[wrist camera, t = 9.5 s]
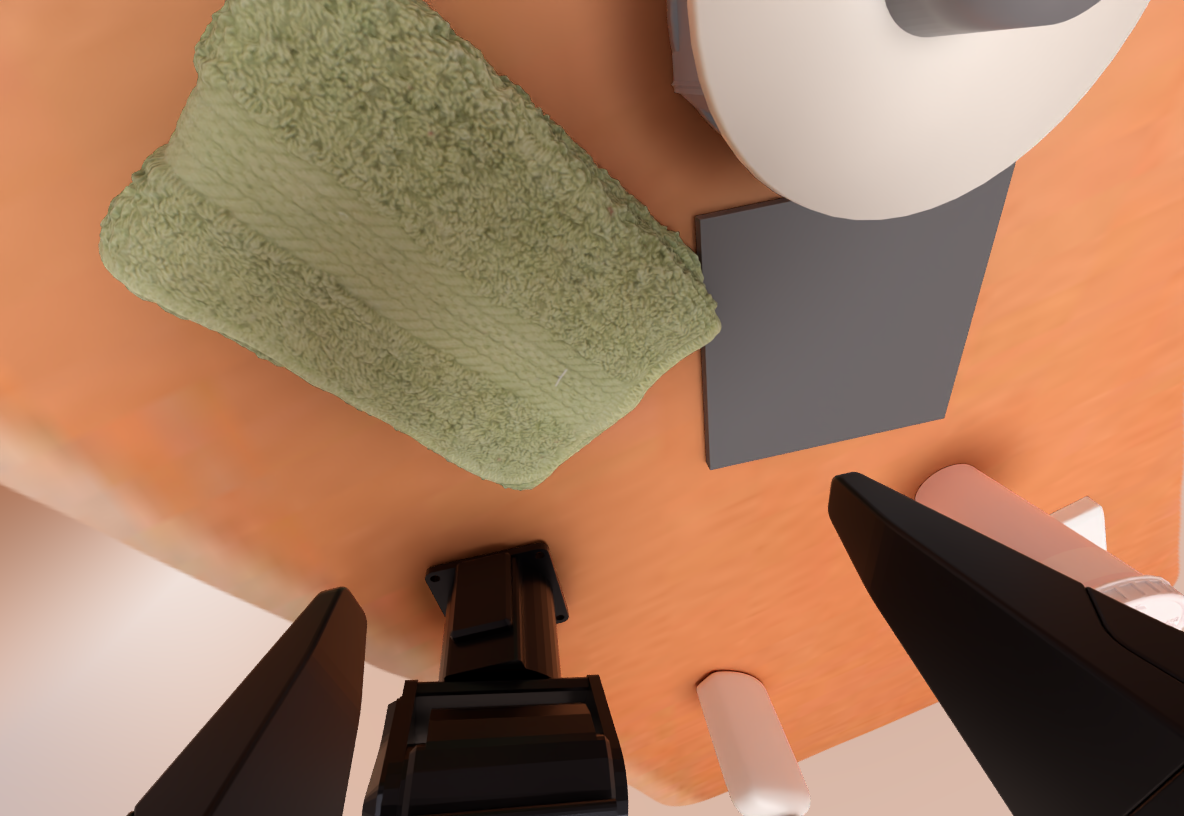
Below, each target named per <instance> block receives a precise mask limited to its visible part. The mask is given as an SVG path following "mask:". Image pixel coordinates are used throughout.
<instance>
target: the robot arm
mask: <svg viewBox="0 0 1184 816" xmlns="http://www.w3.org/2000/svg"><path fill="white" fill-rule="evenodd" d="M828 513H829V517H830V519H831V522H832V524H833V525H834V527H835V529H836V531H837V533H838V535H839V537H840V539H841V541H842V543H843V545H844V547H845V549H846V551H847V553H848V555H849V557H850V559H851V561H852V563H853V565H854V567H855V568H856V570H857V572H858V574H859V576H860V578H861V580H862V582H863V584H864V586H865V588H866V589H867V591H868V593H869V595H870V596H871V598H872V600H873V601H874V603H875V604H876V606H877V608H878V609H879V611H880V612H881V614H882V615H883V617H884V618H885V620H886V621H887V623H888V624H889V626H890V628H891V629H892V631H893V632H894V634H895V635H896V637H897V638H898V640H899V641H900V643H901V644H902V646H903V647H904V649H905V650H906V652H907V654H908V655H909V657H910V658H911V660H912V661H913V663H914V664H915V666H916V667H917V669H918V670H919V672H920V673H921V675H922V677H923V678H924V680H925V681H926V683H927V684H928V686H929V687H930V689H931V690H932V692H933V693H934V695H935V696H936V698H937V699H938V701H939V703H940V704H941V706H942V707H943V708H944V710H945V712H946V713H947V715H948V716H949V718H950V719H951V721H952V722H953V724H954V725H955V727H956V728H957V730H958V732H959V733H960V735H961V736H962V738H963V739H964V741H965V742H966V744H967V745H968V747H969V748H970V750H971V751H972V753H973V755H974V756H975V757H976V759H977V761H978V762H979V764H980V765H981V767H982V768H983V770H984V771H985V773H986V774H987V776H988V778H989V779H990V781H991V782H992V784H993V785H994V787H995V788H996V790H997V791H998V793H999V794H1000V796H1001V797H1002V799H1003V800H1004V802H1005V804H1006V805H1007V806H1008V808H1009V810H1010V811H1011V812H1012V814H1013V816H1184V632H1183V631H1181V630H1179V629H1176V628H1174V627H1172V626H1170V625H1167V624H1165V623H1163V622H1161V621H1159V620H1157V619H1155V618H1153V617H1151V616H1149V615H1147V614H1144V613H1142V612H1140V611H1138V610H1136V609H1134V608H1132V607H1130V606H1128V605H1126V604H1123V603H1121V602H1119V601H1117V600H1115V599H1113V598H1111V597H1109V596H1107V595H1105V594H1103V593H1101V592H1099V591H1097V590H1095V589H1093V588H1091V587H1084V585H1083V584H1082V583H1081V582H1079V581H1077V580H1075V579H1072V578H1070V577H1068V576H1066V575H1064V574H1062V573H1060V572H1058V571H1056V570H1054V569H1052V568H1050V567H1048V566H1046V565H1044V564H1042V563H1040V562H1038V561H1036V560H1034V559H1032V558H1030V557H1028V556H1026V555H1024V554H1022V553H1020V552H1018V551H1016V550H1014V549H1012V548H1010V547H1008V546H1006V545H1004V544H1002V543H1000V542H998V541H996V540H994V539H992V538H990V537H988V536H986V535H984V534H982V533H980V532H978V531H976V530H974V529H972V528H970V527H968V526H965V525H963V524H961V523H959V522H957V521H955V520H953V519H951V518H949V517H947V516H945V515H943V514H941V513H939V512H937V511H935V510H933V509H931V508H929V507H927V506H925V505H923V504H921V503H919V502H917V501H915V500H913V499H911V498H909V497H907V496H905V495H903V494H901V493H899V492H897V491H895V490H893V489H891V488H889V487H887V486H885V485H883V484H881V483H879V482H877V481H875V480H873V479H871V478H869V477H867V476H865V475H863V474H860V473H857V472H850V473H846V474H841V475H837V476H835V477H834V478H833V479H832V482H831V488H830V495H829V503H828ZM537 552H541V553H537ZM425 580H426V583H427V584H428V586H429V588H430V590H431V592H432V594H433V595H434V597H435V599H436V601H437V603H438V605H439V607H440V608H441V610H442V612H443V614H444V616H445V626H444V635H443V645H442V654H441V663H440V672H439V681H438V682H418V680H405V685H404V689H403V694H402V696H401V697H400V698H399V699H397V700H396V701H394V702H393V703H391V704H389V705H388V709H387V714H386V720H385V725H384V730H383V735H382V740H381V744H380V749H379V752H378V756H377V759H376V762H375V766H374V769H373V772H372V775H371V779H370V782H369V785H368V789H367V792H366V796H365V799H364V804H363V810H362V816H628V789H627V778H626V770H625V764H624V759H623V755H622V751H621V747H620V743H619V740H618V737H617V733H616V730H615V727H614V724H613V720H612V717H611V714H610V710H609V707H608V704H607V700H606V697H605V694H604V690H603V687H602V684H601V680H600V677H599V675H587V677H573V678H561V670H560V659H559V649H558V638H557V628H556V624H558V623H562V622H565V621H566V620H567V619H568V618H569V615H568V609H567V605H566V602H565V599H564V596H563V592H562V589H561V586H560V583H559V580H558V576H557V573H556V570H555V567H554V563H553V560H552V557H551V554H550V551H549V547H548V546H547V545H546V544H544V543H535V544H531V545H526V546H522V547H517V548H513V549H508V550H504V551H499V552H495V553H491V554H486V555H482V556H477V557H473V558H468V559H464V560H459V561H455V562H450V563H446V564H441V565H437V566H433V567H430V568H429V569H427V571H426V576H425ZM366 632H367V620H366V616H365V613H364V611H363V610H362V608H361V607H360V605H359V604H358V602H357V601H356V599H355V598H354V596H353V595H352V594H351V592H350V591H349V590H348V589H347V588H346V587H337V588H333V589H328V590H324V591H322V592H320V593H319V594H318V595H317V596H316V597H315V598H314V599H313V600H312V602H311V603H310V604H309V605H308V606H307V607H306V609H305V610H304V611H303V612H302V613H301V614H300V615H299V617H298V618H297V619H296V620H295V621H294V622H293V624H292V625H291V626H290V627H289V628H288V630H287V631H286V632H285V633H284V634H283V635H282V637H280V639H279V640H278V641H277V642H276V643H275V644H274V646H273V647H272V648H271V649H270V650H269V651H268V653H267V654H266V655H265V656H264V657H263V658H262V659H261V661H260V662H259V663H258V664H257V665H256V666H255V668H254V669H253V670H252V671H251V672H250V673H249V675H248V676H247V677H246V678H245V679H244V680H243V682H242V683H241V684H240V685H239V686H238V687H237V689H236V690H235V691H234V692H233V693H232V694H231V696H230V697H229V698H228V699H227V700H226V701H225V702H224V704H223V705H222V706H221V707H220V708H219V709H218V711H217V712H216V713H215V714H214V715H213V716H212V717H211V719H210V720H209V721H208V722H207V723H206V725H205V726H204V727H203V728H202V729H201V730H200V731H199V732H198V734H197V735H196V736H195V737H194V738H193V739H192V741H191V742H190V743H189V744H188V745H187V747H186V748H185V749H184V750H183V751H182V752H181V754H180V755H179V756H178V757H177V758H176V759H175V760H174V761H173V763H172V764H171V765H170V766H169V767H168V768H167V770H166V771H165V772H164V773H163V774H162V775H161V777H160V778H159V779H158V780H157V781H156V782H155V784H154V785H153V786H152V787H151V788H150V789H149V790H148V792H147V793H146V794H145V795H144V796H143V797H142V799H141V800H140V801H139V802H138V803H137V805H136V806H135V809H134V811H131V812H130V813H128V815H127V816H342V814H343V808H344V803H345V797H346V791H347V786H348V779H349V775H350V769H351V763H352V758H353V752H354V747H355V740H356V735H357V730H358V724H359V717H360V710H361V700H362V687H363V674H364V660H365V646H366Z"/></svg>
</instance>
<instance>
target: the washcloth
mask: <svg viewBox="0 0 1184 816" xmlns="http://www.w3.org/2000/svg"><path fill="white" fill-rule="evenodd" d="M212 19H213V20H212V21H211V23H210V24H208V25H207V27H206V30H205V32H204V33H203V34H202V36H201V39H200V41H199V42H198V43H197V44H196V46H195V55H194V60H193V62H194V66H195V69H196V71H197V73H198V80H197V86H196V87H195V88H194V89H193V90H192V92H191V94H190V96H189V97H188V99H187V103H186V106H185V107H184V109H183V110H182V113H181V115H180V118H179V119H178V121H177V126H176V129H175V131H174V132H173V134H172V135H171V138H170V141H169V143H168V144H165V145H163V146H161V147H159V148H157V149H156V150H155V151H154V152H153V154H151V155H150V156H148V157H147V159H146V160H145V161H144V163H143V165H142V168H141V169H140V170H139V171H137V172H135V173H133V174H132V176H131V178H132V181H133V182H132V183H130V184H129V186H126V187H125V189H124V190H123V191H122V192H121V193H120V194H119V195H117V196H116V197H115V198H113V200H112V201H111V203H110V206H109V209H108V214H107V215H106V217H105V218H104V219H103V220H102V222H101V224H100V226H101V227H102V228H101V233H100V238H101V239H100V242H99V254H100V256H101V260H102V262H103V264H104V266H105V268H106V269H107V270H108V271H109V272H110V273H111V274H112V275H113V276H114V277H115V278H116V279H117V280H119V281H120V282H122V283H123V284H124V285H125V286H126V288H127V289H128V290H129V291H131V292H132V293H133V294H135V295H136V296H137V297H139V298H141V299H142V300H145V301H150V302H154V303H157V304H158V305H159V306H160V307H161V308H162V309H163V310H164V311H166V312H168V313H171V314H173V315H175V316H176V317H178V318H180V319H184V320H191V321H193V322H196V323H198V324H200V325H202V326H204V327H206V328H208V329H210V330H213V331H217V332H218V333H220V334H221V335H223V336H224V337H226V338H229V339H231V340H233V341H235V342H237V343H238V344H239V345H241V346H242V347H245V348H247V349H248V350H250V351H252V352H254V353H256V355H257V356H258V358H261V359H265V360H268V361H270V362H271V363H273V364H274V365H276V366H280V367H285V368H287V369H288V370H290V371H291V372H293V373H294V374H296V375H298V376H299V377H301V378H302V379H304V380H305V381H307V382H308V383H309V384H311V385H313V386H315V387H318V388H320V389H322V390H324V391H327V392H329V393H332V394H334V395H336V396H337V397H339V398H340V399H342V400H344V401H345V402H346V403H347V404H349V405H352V406H354V407H355V408H356V409H357V410H360V411H364V412H366V413H367V414H368V415H370V416H374V417H376V418H378V419H380V420H382V421H384V422H386V423H388V424H390V425H391V426H393V427H394V429H395V430H397V431H400V432H402V433H405V434H407V435H409V436H411V437H412V438H413V439H415V440H417V441H418V442H419V443H420V444H422V445H424V446H425V447H427V448H428V449H431V450H433V452H435V453H437V454H439V455H441V456H443V457H444V458H445V459H446V460H447V461H448V462H452V463H454V464H456V465H457V466H458V467H460V468H463V469H465V470H466V471H469V472H471V473H472V474H474V475H477V476H479V477H481V478H482V480H484V479H486V480H490V481H492V482H495V483H497V484H500V485H502V486H503V487H504V488H505V489H506V488H511V489H513V490H520V491H521V490H526V489H533V488H534V487H536V486H537V485H539V484H540V483H542V482H543V481H544V480H545V479H546V478H547V477H549V476H550V475H551V474H552V473H553V471H554V470H555V469H556V468H557V467H558V466H559V465H561V464H562V463H563V462H565V461H566V460H567V459H569V457H571V456H573V455H574V454H575V453H576V452H579V450H580V449H582V448H583V447H584V446H585V445H586V444H589V443H590V442H591V441H592V440H593V439H594V438H595V437H597V436H598V435H600V434H601V433H602V432H603V431H605V430H607V429H608V428H609V427H611V426H612V425H614V424H615V423H616V422H617V421H618V420H619V419H621V418H623V417H624V416H625V415H627V414H628V413H629V412H631V411H632V410H633V409H634V408H635V407H636V406H637V405H638V404H639V402H640V401H641V399H642V398H643V396H644V394H645V393H646V391H647V390H648V389H649V388H650V387H651V386H652V385H653V384H654V383H655V382H656V381H657V380H658V379H659V378H660V377H661V376H662V375H663V374H664V373H666V372H667V371H668V370H669V369H670V368H672V367H673V366H674V365H675V364H677V363H678V362H679V361H680V360H682V359H683V358H685V357H686V356H688V355H690V354H691V353H693V352H694V351H696V350H698V349H700V348H702V347H703V346H705V345H706V344H708V343H709V342H711V341H712V340H713V339H714V338H715V336H716V335H717V334H718V333H720V330H721V322H720V319H719V317H718V316H717V315H716V313H715V309H716V307H717V302H716V301H715V300H714V299H713V298H712V296H711V294H708V293H707V290H706V288H705V287H706V285H705V284H704V283H703V280H704V276H703V274H702V270H701V263H700V261H699V259H698V256H697V255H696V254H695V253H694V252H693V251H692V250H691V249H690V248H689V247H687V246H686V245H685V244H684V242H683V241H682V239H681V238H680V237H679V232H674V231H668V230H667V227H666V226H662V225H660V223H659V222H657V221H656V220H655V219H654V217H653V216H651V215H650V212H649V211H648V209H647V207H646V206H644V205H643V204H642V203H641V202H640V201H639V200H637V199H635V197H634V196H633V195H630V194H629V193H628V192H627V191H626V190H625V189H624V188H623V187H622V186H621V185H620V182H619V181H618V180H616V179H613V178H611V177H610V175H609V174H608V172H607V170H606V169H602V168H598V167H597V165H596V164H595V163H594V162H593V159H592V157H591V156H590V155H589V154H588V153H587V152H586V151H585V150H584V149H583V148H581V147H580V146H579V145H578V144H577V143H575V142H573V140H572V139H571V138H570V136H568V135H567V134H566V133H565V131H564V129H563V128H562V127H561V126H560V125H557V124H556V123H555V122H554V121H553V120H551V119H549V118H550V116H549V115H543V112H542V109H541V108H540V107H537V108H536V107H535V105H534V103H532V102H531V99H530V96H529V95H528V94H527V93H525V91H524V90H523V89H522V88H521V87H520V86H519V85H514V84H513V83H512V82H511V81H510V80H509V78H508V77H507V76H506V75H505V76H499V75H497V73H496V72H495V70H494V68H493V67H492V66H491V65H490V64H489V63H488V62H487V61H486V60H485V59H484V57H483V54H482V52H481V51H480V50H478V49H477V48H475V47H474V46H473V45H472V44H471V43H470V42H469V41H467V40H463V39H462V38H460V37H459V36H456V34H455V32H454V30H453V29H451V28H450V25H449V23H448V22H447V21H445V20H444V19H443V18H442V17H441V16H440V15H439V14H438V12H435V11H433V10H431V8H430V7H429V6H428V4H427V3H426V2H424V1H423V0H226V1H225V4H224V6H223V7H222V8H221V9H220V10H219V11H217V12H216V13H214V14H212Z"/></svg>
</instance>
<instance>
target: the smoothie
mask: <svg viewBox="0 0 1184 816" xmlns="http://www.w3.org/2000/svg"><path fill="white" fill-rule="evenodd" d="M915 501H917V502H919V503H921V504H923V505H925V506H927V507H929V508H931V509H933V510H935V511H937V512H939V513H941V514H943V515H945V516H947V517H949V518H951V519H953V520H955V521H957V522H959V523H961V524H963V525H965V526H968V527H970V528H972V529H974V530H976V531H978V532H980V533H982V534H984V535H986V536H988V537H990V538H992V539H994V540H996V541H998V542H1000V543H1002V544H1004V545H1006V546H1008V547H1010V548H1012V549H1014V550H1016V551H1018V552H1020V553H1022V554H1024V555H1026V556H1028V557H1030V558H1032V559H1034V560H1036V561H1038V562H1040V563H1042V564H1044V565H1046V566H1048V567H1050V568H1052V569H1054V570H1056V571H1058V572H1060V573H1062V574H1064V575H1066V576H1068V577H1070V578H1072V579H1075V580H1077V581H1079V582H1081V583H1082V584H1083V585H1084V587H1091V588H1093V589H1095V590H1097V591H1099V592H1101V593H1103V594H1105V595H1107V596H1109V597H1111V598H1113V599H1115V600H1117V601H1119V602H1121V603H1123V604H1126V605H1128V606H1130V607H1132V608H1134V609H1136V610H1138V611H1140V612H1142V613H1144V614H1147V615H1149V616H1151V617H1153V618H1155V619H1157V620H1159V621H1161V622H1163V623H1165V624H1167V625H1170V626H1172V627H1174V628H1176V629H1179V630H1181V629H1182V628H1183V627H1184V595H1182V594H1181V593H1180V592H1178V591H1177V590H1176V589H1174V588H1173V587H1172V586H1171V585H1170V583H1169V582H1168V581H1166V580H1165V579H1163V578H1161V577H1159V576H1152V575H1143V574H1141V573H1140V572H1138V571H1136V570H1135V569H1133V568H1132V567H1130V566H1129V565H1127V564H1126V563H1124V562H1123V561H1121V560H1120V559H1118V558H1117V557H1115V556H1114V555H1112V554H1110V553H1109V552H1107V551H1106V550H1104V549H1102V548H1100V547H1099V546H1097V545H1096V544H1094V543H1093V542H1091V541H1089V540H1088V539H1086V538H1085V537H1083V536H1082V535H1080V534H1078V533H1077V532H1075V531H1074V530H1072V529H1071V528H1069V527H1067V526H1066V525H1064V524H1063V523H1061V522H1059V521H1058V520H1056V519H1055V518H1053V517H1052V516H1050V515H1048V514H1047V513H1045V512H1044V511H1042V510H1041V509H1039V508H1037V507H1036V506H1034V505H1033V504H1031V503H1030V502H1028V501H1026V500H1025V499H1023V498H1022V497H1020V496H1018V495H1017V494H1015V493H1014V492H1012V491H1011V490H1009V489H1007V488H1006V487H1004V486H1003V485H1001V484H1000V483H998V482H996V481H995V480H993V479H992V478H990V477H989V476H987V475H985V474H984V473H982V472H981V471H979V470H977V469H976V468H974V467H973V466H971V465H968V464H956V465H952V466H949V467H946V468H944V469H941V470H940V471H938V472H936V473H934V474H933V475H932V476H930V477H929V478H928V479H927V480H926V481H925V482H924V483H923V484H922V485H921V487H920V488H919V490H918V491H917V494H916V497H915Z"/></svg>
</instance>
